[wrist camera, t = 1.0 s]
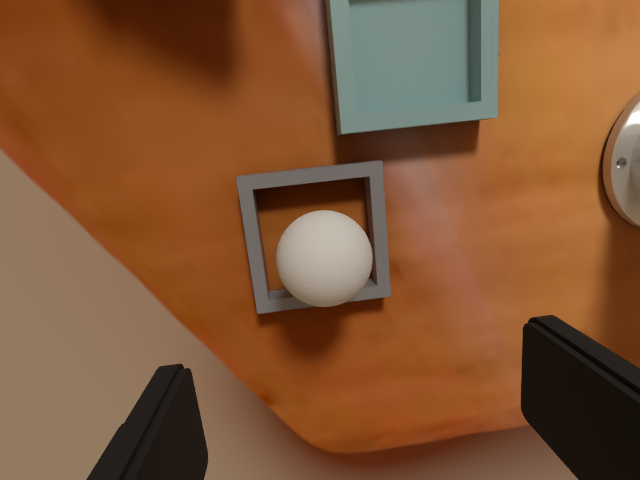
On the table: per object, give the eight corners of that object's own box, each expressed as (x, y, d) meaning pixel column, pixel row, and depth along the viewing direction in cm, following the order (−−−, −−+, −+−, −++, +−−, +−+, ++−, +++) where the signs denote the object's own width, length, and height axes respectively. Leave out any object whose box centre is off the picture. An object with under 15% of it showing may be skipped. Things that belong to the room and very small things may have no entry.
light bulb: (306, 283, 31) (316, 343, 21) (263, 226, 29) (252, 262, 20) (366, 242, 30) (403, 284, 21) (325, 182, 29) (344, 197, 19)
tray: (479, -46, 26) (499, -66, 24) (480, 120, 29) (497, 117, 27) (321, -34, 26) (325, -53, 23) (336, 135, 28) (341, 133, 26)
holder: (376, 160, 29) (382, 160, 27) (384, 287, 31) (390, 296, 30) (239, 175, 28) (236, 176, 26) (259, 303, 31) (257, 314, 29)
